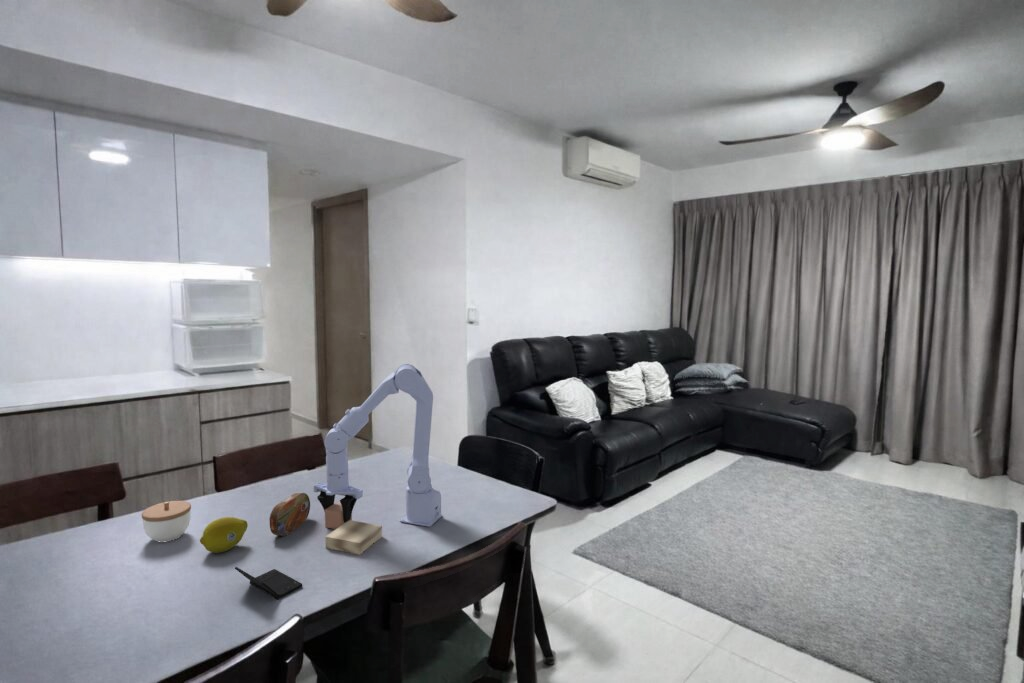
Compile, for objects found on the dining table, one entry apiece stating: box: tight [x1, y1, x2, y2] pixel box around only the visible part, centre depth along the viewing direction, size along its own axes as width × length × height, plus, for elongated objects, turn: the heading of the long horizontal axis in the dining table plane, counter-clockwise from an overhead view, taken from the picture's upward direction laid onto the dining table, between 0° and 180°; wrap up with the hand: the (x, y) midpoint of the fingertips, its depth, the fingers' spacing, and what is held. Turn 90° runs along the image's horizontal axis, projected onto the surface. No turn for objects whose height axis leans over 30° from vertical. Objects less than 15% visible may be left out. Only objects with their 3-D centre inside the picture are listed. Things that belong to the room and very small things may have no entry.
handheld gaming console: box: [234, 566, 303, 601], centre depth 115 cm, size 12×7×10 cm
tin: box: [269, 492, 311, 537], centre depth 143 cm, size 15×3×8 cm, turn 168°
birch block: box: [325, 519, 383, 556], centre depth 136 cm, size 10×10×3 cm
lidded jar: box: [141, 500, 192, 542], centre depth 137 cm, size 11×11×9 cm
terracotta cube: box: [324, 502, 353, 530], centre depth 146 cm, size 5×5×5 cm
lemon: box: [199, 516, 249, 554], centre depth 131 cm, size 11×8×8 cm
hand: (338, 519), depth 146 cm, fingers closed on terracotta cube, 5 cm apart
